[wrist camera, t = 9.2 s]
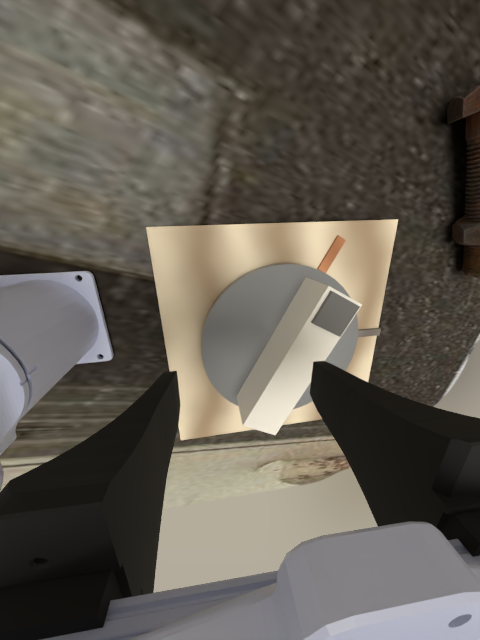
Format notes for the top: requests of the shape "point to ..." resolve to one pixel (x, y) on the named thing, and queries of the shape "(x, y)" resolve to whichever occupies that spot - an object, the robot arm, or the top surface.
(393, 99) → the top surface
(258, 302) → the dial
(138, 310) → the top surface
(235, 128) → the top surface
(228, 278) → the dial board
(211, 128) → the top surface
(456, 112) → the bolt
